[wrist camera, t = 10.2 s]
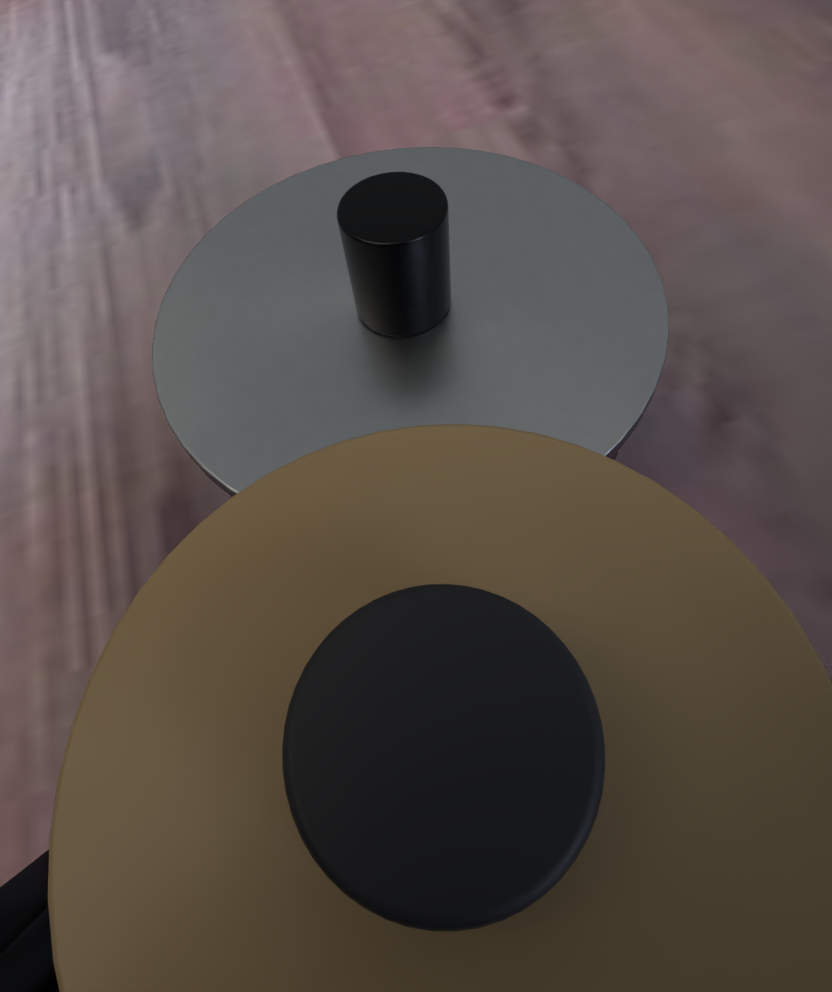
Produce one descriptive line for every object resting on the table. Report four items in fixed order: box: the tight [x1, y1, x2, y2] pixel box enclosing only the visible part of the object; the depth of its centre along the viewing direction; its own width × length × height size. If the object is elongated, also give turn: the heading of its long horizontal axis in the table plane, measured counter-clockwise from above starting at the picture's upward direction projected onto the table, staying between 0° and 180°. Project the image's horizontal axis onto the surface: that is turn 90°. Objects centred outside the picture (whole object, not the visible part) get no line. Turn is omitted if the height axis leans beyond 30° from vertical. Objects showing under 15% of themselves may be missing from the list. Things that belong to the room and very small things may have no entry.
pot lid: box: [152, 147, 669, 497], centre depth 13 cm, size 12×12×4 cm
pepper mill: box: [48, 424, 832, 992], centre depth 8 cm, size 5×5×13 cm
